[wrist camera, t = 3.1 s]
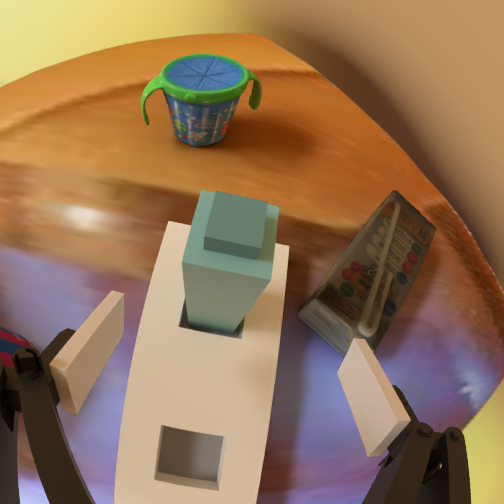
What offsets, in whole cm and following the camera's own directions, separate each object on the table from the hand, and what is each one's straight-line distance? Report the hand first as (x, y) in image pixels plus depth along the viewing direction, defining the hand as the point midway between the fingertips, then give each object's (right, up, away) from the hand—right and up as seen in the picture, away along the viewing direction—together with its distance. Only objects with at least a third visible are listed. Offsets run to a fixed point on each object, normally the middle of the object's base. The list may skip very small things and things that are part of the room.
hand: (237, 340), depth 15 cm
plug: (-3, -1, +12) cm, 12 cm away
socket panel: (-4, -7, +9) cm, 12 cm away
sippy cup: (-7, +22, +22) cm, 32 cm away
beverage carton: (+14, +2, +17) cm, 22 cm away
